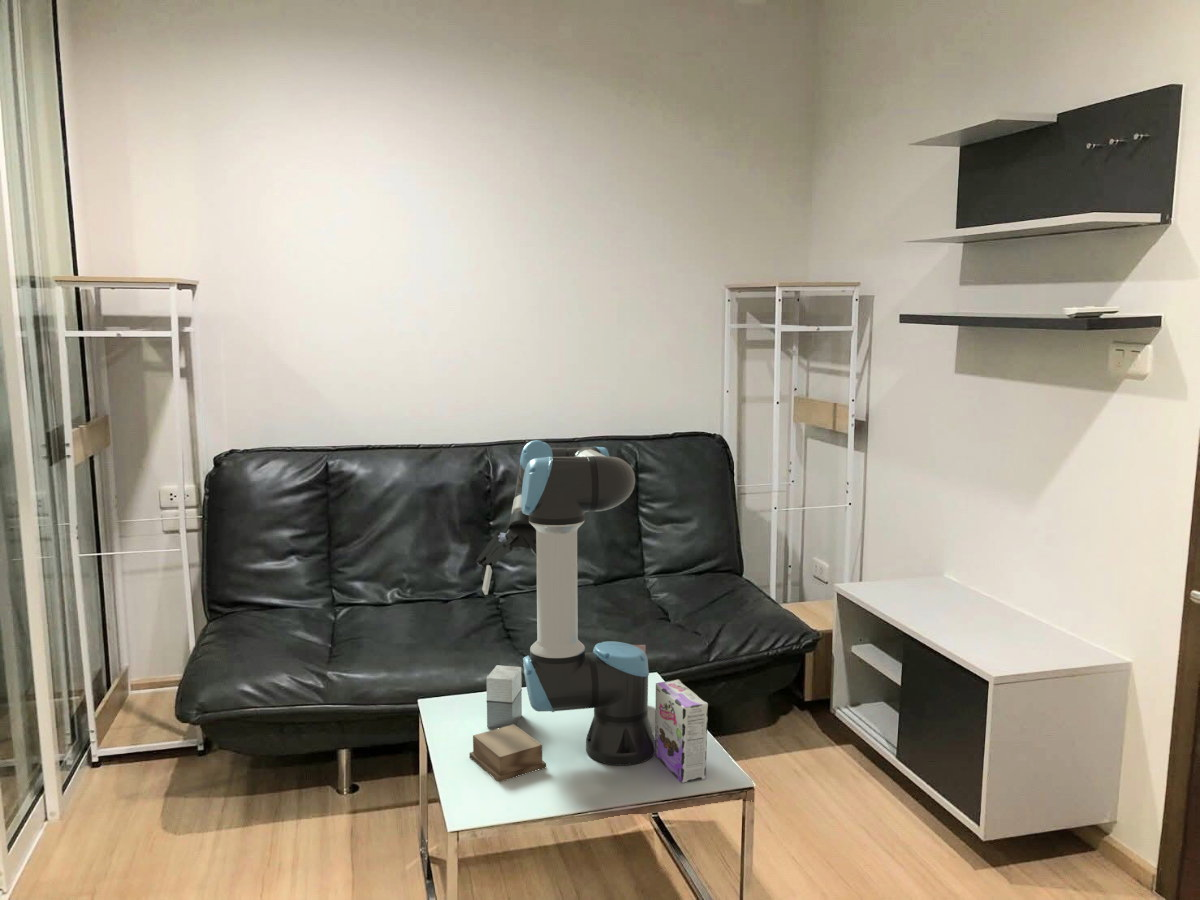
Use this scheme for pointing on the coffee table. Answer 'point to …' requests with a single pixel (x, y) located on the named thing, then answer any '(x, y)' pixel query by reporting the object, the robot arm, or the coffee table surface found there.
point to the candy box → (681, 730)
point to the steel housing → (504, 696)
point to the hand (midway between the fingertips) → (512, 593)
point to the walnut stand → (507, 752)
